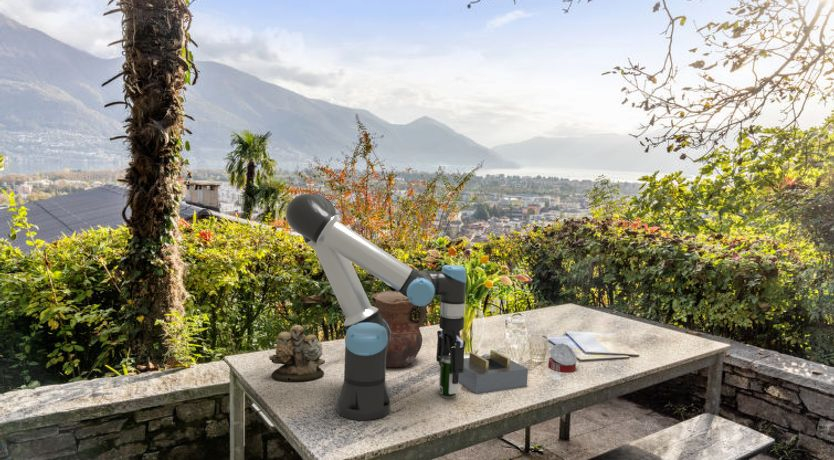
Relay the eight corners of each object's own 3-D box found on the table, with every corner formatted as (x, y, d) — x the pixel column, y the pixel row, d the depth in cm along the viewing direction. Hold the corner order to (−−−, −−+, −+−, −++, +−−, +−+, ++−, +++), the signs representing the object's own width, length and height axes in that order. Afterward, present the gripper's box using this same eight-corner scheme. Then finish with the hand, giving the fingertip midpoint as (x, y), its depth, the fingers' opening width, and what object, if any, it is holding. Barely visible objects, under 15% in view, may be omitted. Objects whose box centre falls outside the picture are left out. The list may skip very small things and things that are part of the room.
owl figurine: (268, 384, 155) (270, 331, 155) (267, 372, 167) (269, 322, 166) (326, 380, 161) (328, 328, 160) (321, 368, 172) (323, 320, 171)
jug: (369, 373, 170) (372, 301, 168) (356, 354, 190) (359, 290, 188) (429, 369, 177) (433, 300, 175) (411, 351, 197) (414, 289, 195)
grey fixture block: (475, 394, 156) (477, 365, 155) (448, 375, 171) (449, 349, 171) (534, 385, 166) (535, 359, 165) (503, 368, 181) (504, 344, 181)
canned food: (571, 379, 187) (586, 358, 185) (563, 383, 179) (579, 361, 177) (547, 359, 193) (561, 339, 191) (538, 362, 185) (553, 341, 183)
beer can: (446, 400, 150) (448, 361, 149) (435, 393, 154) (437, 355, 154) (460, 396, 153) (462, 358, 152) (449, 390, 157) (451, 353, 156)
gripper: (478, 322, 145) (474, 399, 147) (447, 308, 162) (444, 378, 163) (456, 323, 142) (452, 402, 143) (427, 309, 159) (424, 380, 160)
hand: (448, 389), depth 153 cm, fingers closed on beer can, 5 cm apart
